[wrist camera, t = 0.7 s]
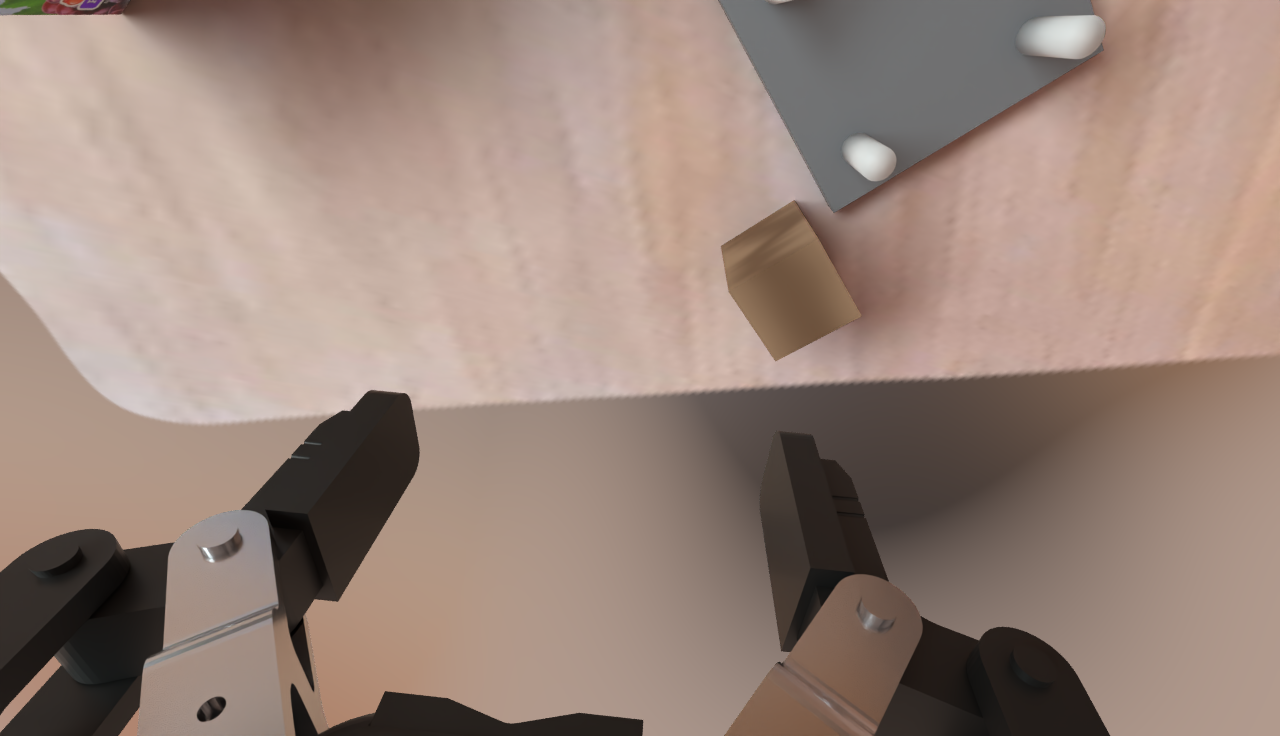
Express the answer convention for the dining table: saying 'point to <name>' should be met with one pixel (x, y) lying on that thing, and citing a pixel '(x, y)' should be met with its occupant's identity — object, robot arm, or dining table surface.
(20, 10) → the snack box
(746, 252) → the walnut block
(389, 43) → the dining table surface
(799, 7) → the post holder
